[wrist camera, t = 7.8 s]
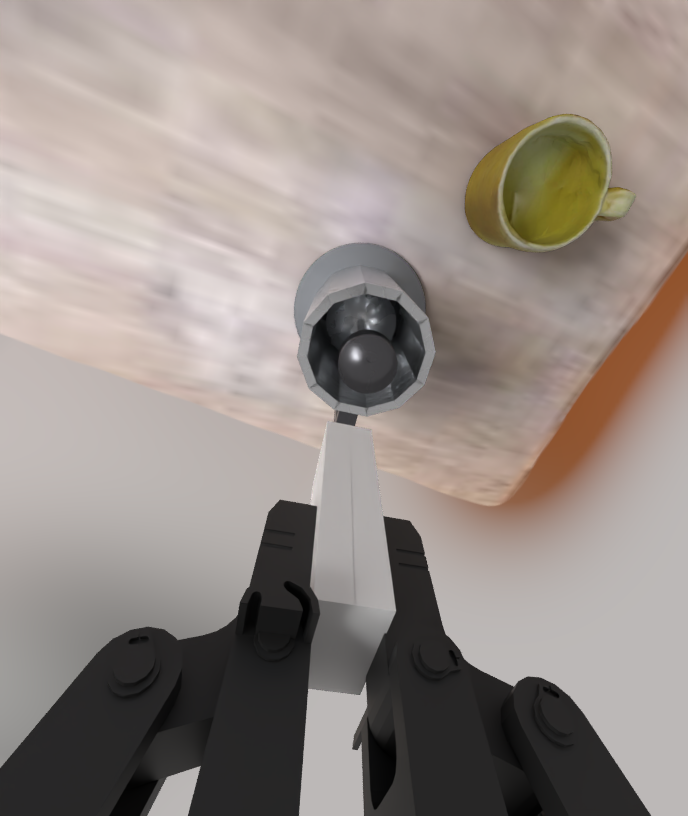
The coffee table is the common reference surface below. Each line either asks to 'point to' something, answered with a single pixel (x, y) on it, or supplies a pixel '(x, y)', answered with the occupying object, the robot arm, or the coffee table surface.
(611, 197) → the mug
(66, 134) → the coffee table surface
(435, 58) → the coffee table surface
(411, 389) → the grey french press
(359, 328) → the plunger
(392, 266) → the coaster
